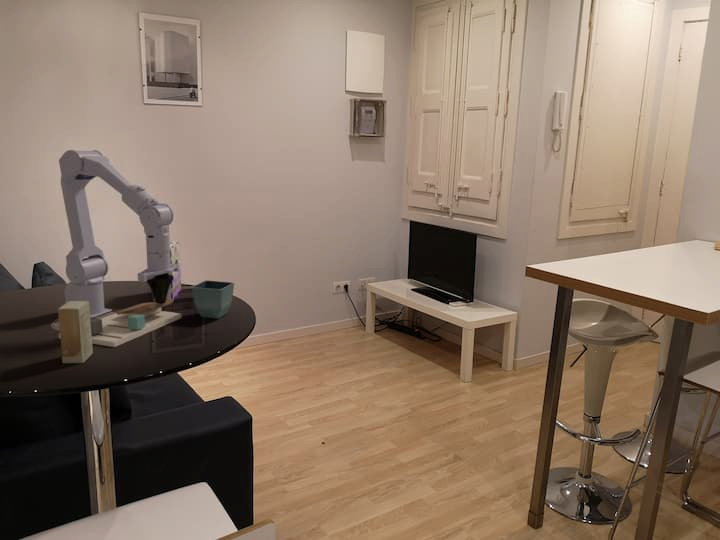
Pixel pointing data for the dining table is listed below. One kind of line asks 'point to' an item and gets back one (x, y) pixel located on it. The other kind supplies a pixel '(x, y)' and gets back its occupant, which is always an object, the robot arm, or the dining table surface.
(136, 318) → the teal slider
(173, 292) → the candy box
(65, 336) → the skincare box
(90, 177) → the robot arm
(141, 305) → the panel
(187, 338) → the dining table surface
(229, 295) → the flower pot
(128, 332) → the panel
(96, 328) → the graphite slider
